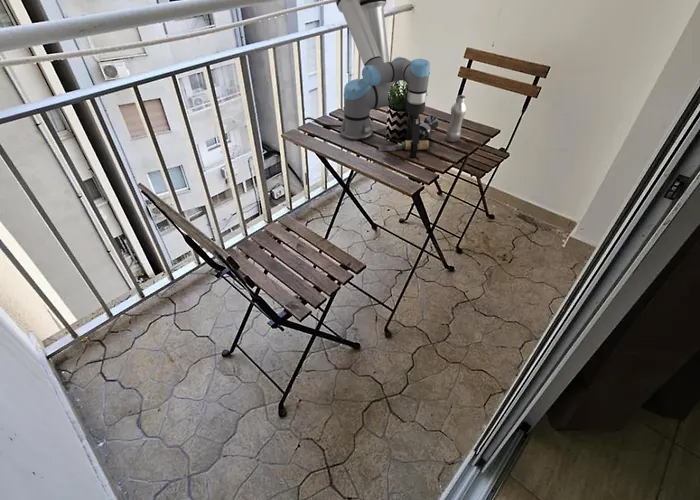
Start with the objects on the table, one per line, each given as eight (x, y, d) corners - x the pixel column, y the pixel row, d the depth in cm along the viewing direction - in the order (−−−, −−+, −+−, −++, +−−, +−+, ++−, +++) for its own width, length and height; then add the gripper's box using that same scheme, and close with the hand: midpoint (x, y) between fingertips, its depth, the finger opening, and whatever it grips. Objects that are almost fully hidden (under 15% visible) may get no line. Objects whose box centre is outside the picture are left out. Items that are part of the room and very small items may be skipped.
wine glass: (420, 118, 186) (408, 129, 175) (434, 111, 180) (424, 122, 170) (427, 133, 188) (416, 145, 178) (441, 127, 183) (431, 139, 173)
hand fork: (426, 147, 174) (427, 138, 171) (428, 151, 171) (429, 143, 168) (378, 147, 173) (378, 138, 171) (379, 151, 170) (379, 143, 168)
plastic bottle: (442, 139, 179) (449, 96, 166) (452, 135, 182) (460, 92, 169) (452, 145, 175) (461, 101, 162) (462, 140, 178) (472, 97, 165)
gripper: (430, 113, 148) (423, 163, 162) (420, 90, 167) (415, 136, 181) (411, 113, 148) (405, 163, 162) (403, 90, 167) (399, 136, 181)
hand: (410, 149), depth 172 cm, fingers open, 13 cm apart
